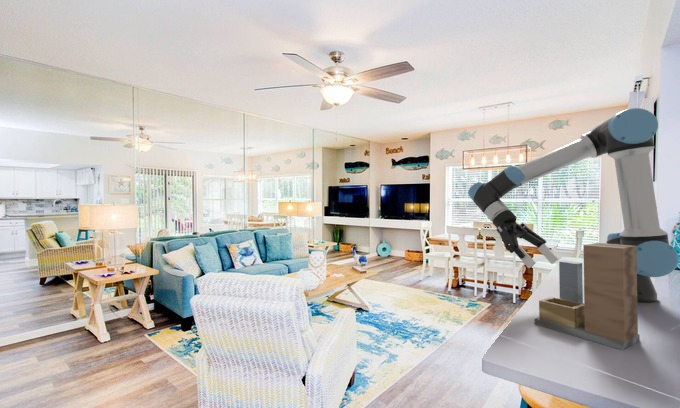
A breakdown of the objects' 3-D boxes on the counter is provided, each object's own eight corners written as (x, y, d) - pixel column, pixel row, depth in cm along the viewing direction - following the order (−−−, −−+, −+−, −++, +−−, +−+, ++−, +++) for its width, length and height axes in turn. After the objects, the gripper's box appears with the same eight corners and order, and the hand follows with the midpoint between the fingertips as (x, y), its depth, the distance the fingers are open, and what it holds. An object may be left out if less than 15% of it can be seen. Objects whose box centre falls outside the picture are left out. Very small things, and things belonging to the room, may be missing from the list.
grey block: (564, 311, 104) (564, 260, 104) (583, 315, 100) (582, 262, 100) (559, 313, 102) (559, 261, 102) (578, 317, 98) (577, 264, 98)
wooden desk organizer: (553, 317, 99) (552, 238, 99) (639, 340, 81) (638, 245, 81) (534, 323, 93) (533, 241, 94) (622, 350, 76) (620, 248, 76)
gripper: (514, 221, 129) (555, 266, 116) (472, 224, 116) (513, 274, 103) (527, 208, 124) (572, 253, 111) (485, 209, 111) (530, 260, 98)
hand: (544, 263), depth 107 cm, fingers open, 13 cm apart
